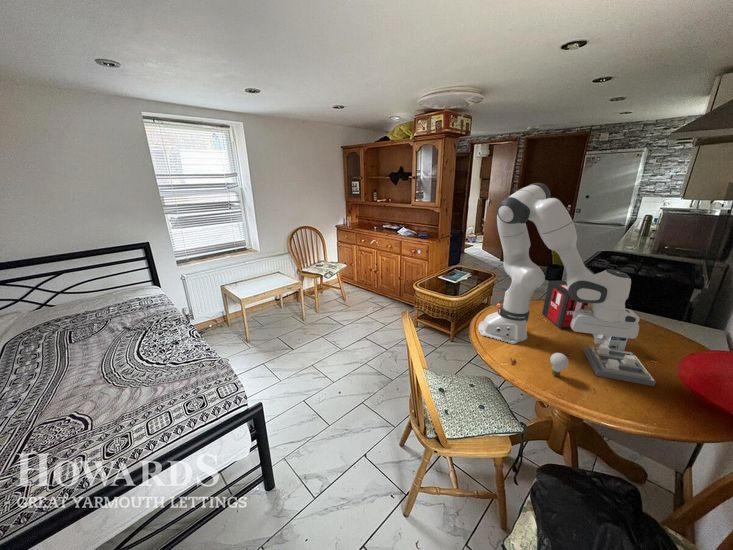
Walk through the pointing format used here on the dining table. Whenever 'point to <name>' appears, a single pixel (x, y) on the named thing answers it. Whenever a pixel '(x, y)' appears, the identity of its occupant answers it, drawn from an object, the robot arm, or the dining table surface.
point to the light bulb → (558, 363)
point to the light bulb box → (615, 342)
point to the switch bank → (625, 371)
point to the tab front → (612, 364)
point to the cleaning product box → (560, 305)
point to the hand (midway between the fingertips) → (598, 343)
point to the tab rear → (603, 349)
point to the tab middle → (628, 360)
